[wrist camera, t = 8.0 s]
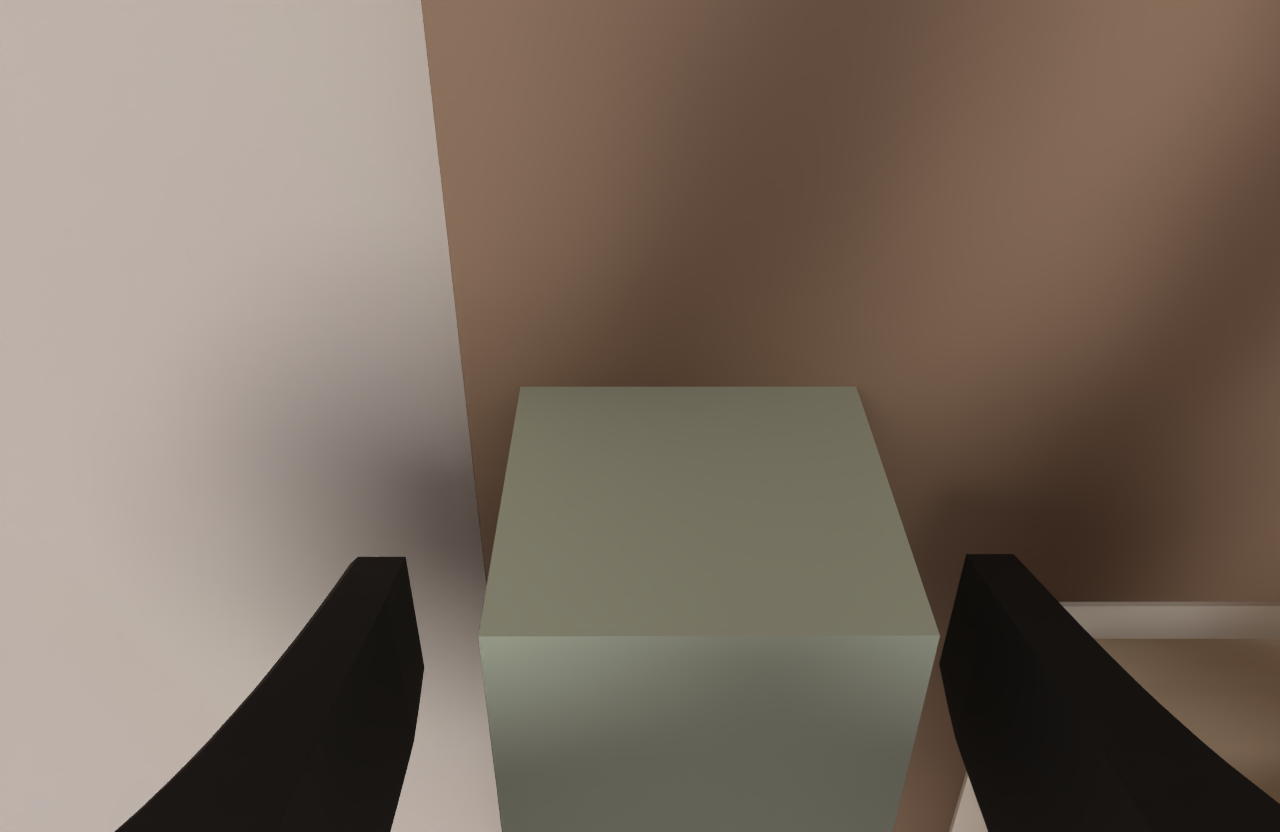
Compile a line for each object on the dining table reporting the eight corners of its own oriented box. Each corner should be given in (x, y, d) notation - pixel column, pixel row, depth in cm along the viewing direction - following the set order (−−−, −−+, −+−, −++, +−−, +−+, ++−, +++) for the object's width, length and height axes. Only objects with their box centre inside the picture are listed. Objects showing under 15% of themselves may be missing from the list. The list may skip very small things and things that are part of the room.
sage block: (856, 386, 14) (939, 635, 10) (821, 624, 16) (877, 894, 12) (520, 386, 14) (478, 636, 10) (538, 625, 16) (509, 895, 12)
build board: (2305, -321, 10) (2469, -325, 9) (1427, 849, 21) (1461, 899, 21) (404, -329, 10) (382, -334, 9) (525, 852, 21) (520, 902, 20)
